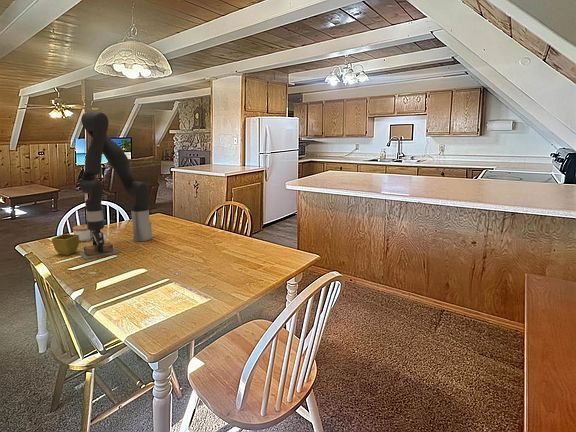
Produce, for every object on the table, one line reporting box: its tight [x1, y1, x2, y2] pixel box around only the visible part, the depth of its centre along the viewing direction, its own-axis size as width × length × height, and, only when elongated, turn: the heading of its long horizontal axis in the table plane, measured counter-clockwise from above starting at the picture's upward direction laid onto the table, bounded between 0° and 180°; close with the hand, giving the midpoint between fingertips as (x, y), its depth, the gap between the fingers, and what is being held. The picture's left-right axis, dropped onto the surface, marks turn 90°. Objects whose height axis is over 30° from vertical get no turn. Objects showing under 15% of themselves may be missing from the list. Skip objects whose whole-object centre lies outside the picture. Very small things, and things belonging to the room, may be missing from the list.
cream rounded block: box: [100, 233, 108, 243], centre depth 198 cm, size 6×6×6 cm
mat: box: [78, 247, 120, 261], centre depth 188 cm, size 16×12×1 cm
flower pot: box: [51, 233, 80, 256], centre depth 186 cm, size 9×9×9 cm
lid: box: [83, 241, 114, 256], centre depth 188 cm, size 12×6×4 cm, turn 132°
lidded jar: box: [72, 223, 92, 242], centre depth 209 cm, size 11×11×9 cm
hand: (98, 250), depth 187 cm, fingers open, 8 cm apart
